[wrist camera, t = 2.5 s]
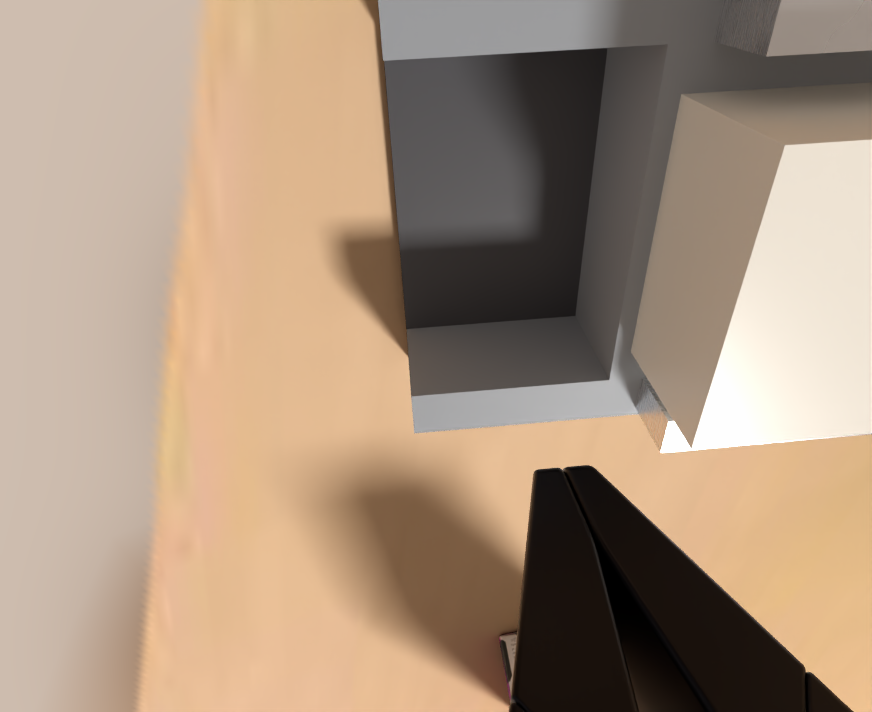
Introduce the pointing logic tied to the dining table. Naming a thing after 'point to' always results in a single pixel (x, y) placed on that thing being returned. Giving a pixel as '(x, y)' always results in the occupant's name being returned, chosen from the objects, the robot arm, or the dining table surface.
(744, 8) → the channel walls
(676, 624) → the robot arm
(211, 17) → the dining table surface
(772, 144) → the cream block
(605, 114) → the grey piece
